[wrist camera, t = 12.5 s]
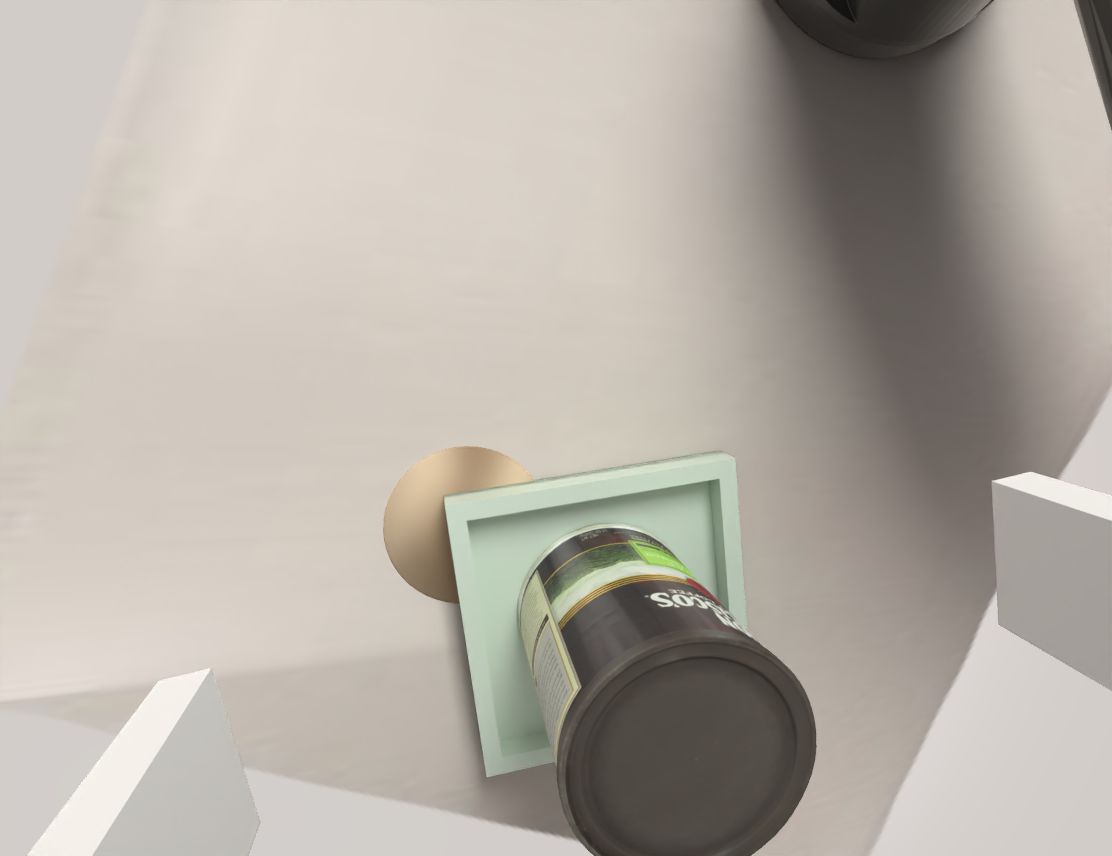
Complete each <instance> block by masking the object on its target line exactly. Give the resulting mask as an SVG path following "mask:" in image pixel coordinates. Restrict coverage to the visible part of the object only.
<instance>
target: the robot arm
mask: <svg viewBox="0 0 1112 856" xmlns="http://www.w3.org/2000/svg"><path fill="white" fill-rule="evenodd" d="M777 1H778V3H779V4H780V5H781V7H782V8H783V9H784V11H785V12H786V13H787V14H788V15H789V17H790V18H791V19H792V20H793V21H794V22H795V23H796V24H797V25H798V26H799V27H800V28H802V29H803V30H804V31H805V32H806V33H808V34H809V35H810V36H811V37H813V38H814V39H816V40H818V41H819V42H821V43H822V44H824V45H826V46H828V47H830V48H832V49H834V50H837V51H839V52H842V53H845V54H848V55H853V56H857V57H863V58H875V59H877V58H892V57H898V56H902V55H906V54H909V53H913V52H915V51H918V50H920V49H923V48H925V47H927V46H929V45H931V44H933V43H934V42H936V41H938V40H940V39H942V38H944V37H946V36H948V35H949V34H951V33H953V32H955V31H957V30H958V29H960V28H962V27H963V26H965V25H966V24H967V23H969V22H970V21H972V20H973V19H974V18H975V17H977V16H978V15H979V14H980V13H981V12H983V11H984V10H985V9H986V8H987V7H988V6H989V5H990V4H991V3H992V2H993V1H994V0H777ZM1074 4H1075V7H1076V10H1077V14H1078V17H1079V21H1080V24H1081V27H1082V31H1083V34H1084V38H1085V41H1086V45H1087V48H1088V51H1089V55H1090V58H1091V62H1092V65H1093V68H1094V72H1095V75H1096V79H1097V82H1098V86H1099V89H1100V92H1101V96H1102V99H1103V103H1104V106H1105V110H1106V113H1107V116H1108V120H1109V123H1110V127H1111V130H1112V0H1074ZM991 482H992V502H993V522H994V542H995V562H996V582H997V600H998V601H997V602H998V622H999V625H1000V626H1002V627H1004V628H1005V629H1007V630H1009V631H1011V632H1012V633H1014V634H1016V635H1017V636H1019V637H1021V638H1022V639H1024V640H1026V641H1028V642H1029V643H1031V644H1033V645H1034V646H1036V647H1038V648H1040V649H1042V650H1043V651H1045V652H1047V653H1048V654H1050V655H1051V656H1053V657H1055V658H1057V659H1059V660H1060V661H1062V662H1063V663H1065V664H1067V665H1069V666H1070V667H1072V668H1074V669H1075V670H1077V671H1079V672H1081V673H1082V674H1084V675H1086V676H1087V677H1089V678H1091V679H1093V680H1094V681H1096V682H1098V683H1099V684H1101V685H1103V686H1105V687H1106V688H1108V689H1110V690H1111V691H1112V495H1109V494H1105V493H1102V492H1099V491H1095V490H1092V489H1088V488H1085V487H1082V486H1078V485H1075V484H1071V483H1068V482H1064V481H1061V480H1058V479H1054V478H1051V477H1047V476H1044V475H1041V474H1037V473H1034V472H1027V473H1023V474H1019V475H1015V476H1010V477H1006V478H1002V479H998V480H994V481H991ZM259 825H260V820H259V816H258V813H257V810H256V807H255V804H254V801H253V797H252V794H251V791H250V788H249V785H248V782H247V778H246V775H245V772H244V769H243V766H242V763H241V760H240V756H239V753H238V750H237V747H236V744H235V741H234V738H233V734H232V731H231V728H230V725H229V722H228V719H227V716H226V712H225V709H224V706H223V703H222V700H221V697H220V693H219V690H218V687H217V684H216V681H215V678H214V675H213V671H212V668H210V669H205V670H201V671H197V672H193V673H189V674H185V675H180V676H176V677H172V678H168V679H164V680H160V681H158V682H157V684H156V685H155V686H154V688H153V689H152V690H151V692H150V693H149V694H148V696H147V697H146V698H145V699H144V701H143V702H142V703H141V705H140V706H139V707H138V709H137V710H136V711H135V713H134V714H133V715H132V717H131V718H130V719H129V721H128V722H127V723H126V725H125V726H124V727H123V729H122V730H121V731H120V733H119V734H118V735H117V737H116V738H115V739H114V741H113V742H112V743H111V745H110V746H109V747H108V749H107V750H106V751H105V753H104V754H103V755H102V757H101V758H100V759H99V761H98V762H97V763H96V765H95V766H94V767H93V768H92V770H91V771H90V773H89V774H88V775H87V776H86V778H85V779H84V781H83V782H82V783H81V784H80V786H79V787H78V788H77V790H76V791H75V793H74V794H73V795H72V796H71V798H70V799H69V801H68V802H67V803H66V804H65V806H64V807H63V808H62V810H61V811H60V812H59V814H58V815H57V816H56V818H55V819H54V820H53V822H52V823H51V824H50V826H49V827H48V828H47V830H46V831H45V832H44V834H43V835H42V836H41V838H40V839H39V840H38V841H37V843H36V844H35V846H34V847H33V848H32V850H31V851H30V852H29V854H28V855H27V856H249V853H250V850H251V847H252V844H253V841H254V839H255V836H256V833H257V830H258V827H259Z"/></svg>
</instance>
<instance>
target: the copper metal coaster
mask: <svg viewBox="0 0 1112 856" xmlns="http://www.w3.org/2000/svg"><path fill="white" fill-rule="evenodd" d="M528 481H534V480H533V478H532V477H531V475H530V474H529V473H528V472H527V471H526V470H525V469H524V468H523V467H522V466H521V465H519V464H518V463H517V462H516V461H514V460H513V459H511V458H509V457H508V456H506V455H504V454H501V453H499V452H497V451H493V450H490V449H486V448H481V447H468V446H466V447H455V448H450V449H445V450H442V451H439V452H437V453H434V454H432V455H430V456H428V457H426V458H424V459H423V460H421V461H420V462H418V463H417V464H415V465H414V466H413V467H412V468H411V469H409V470H408V471H407V472H406V473H405V475H404V476H403V477H402V478H401V479H400V480H399V482H398V483H397V485H396V486H395V488H394V490H393V492H392V494H391V496H390V498H389V500H388V503H387V507H386V510H385V516H384V528H383V530H384V540H385V544H386V548H387V552H388V554H389V557H390V559H391V561H392V563H393V564H394V566H395V568H396V569H397V571H398V572H399V573H400V575H401V576H402V577H403V578H404V579H405V580H406V581H407V582H408V583H409V584H410V585H412V586H413V587H414V588H416V589H417V590H419V591H420V592H422V593H424V594H426V595H428V596H430V597H433V598H435V599H439V600H442V601H446V602H454V603H460V601H459V595H458V588H457V582H456V575H455V569H454V562H453V556H452V549H451V543H450V537H449V530H448V524H447V517H446V511H445V502H444V495H447V494H454V493H460V492H466V491H472V490H478V489H485V488H491V487H497V486H503V485H510V484H516V483H522V482H528Z"/></svg>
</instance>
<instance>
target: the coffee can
mask: <svg viewBox="0 0 1112 856" xmlns="http://www.w3.org/2000/svg"><path fill="white" fill-rule="evenodd" d="M517 619H518V628H519V633H520V637H521V639H522V642H523V644H524V647H525V649H526V653H527V657H528V661H529V665H530V669H531V672H532V676H533V680H534V684H535V688H536V693H537V696H538V700H539V704H540V708H541V711H542V715H543V719H544V723H545V727H546V731H547V735H548V739H549V743H550V747H551V750H552V754H553V758H554V762H555V766H556V770H557V782H558V788H559V794H560V799H561V803H562V806H563V810H564V813H565V815H566V818H567V820H568V822H569V825H570V826H571V828H572V830H573V832H574V834H575V835H576V837H577V838H578V839H579V841H580V842H581V843H582V844H583V845H584V846H585V848H587V850H588V851H589V852H590V853H592V854H593V855H594V856H751V855H752V854H754V853H755V852H756V851H758V850H759V849H760V848H762V847H763V846H764V845H765V844H766V843H767V842H768V841H769V840H771V839H772V838H773V837H774V836H775V835H776V834H777V833H778V832H779V830H780V829H781V828H782V827H783V826H784V825H785V824H786V822H787V821H788V819H789V818H790V817H791V815H792V814H793V812H794V810H795V809H796V807H797V805H798V804H799V802H800V800H801V798H802V796H803V794H804V792H805V790H806V788H807V785H808V783H809V780H810V777H811V775H812V770H813V766H814V762H815V756H816V747H817V746H816V728H815V721H814V716H813V712H812V708H811V705H810V702H809V699H808V697H807V695H806V692H805V690H804V688H803V687H802V685H801V683H800V682H799V680H798V679H797V678H796V676H795V675H794V674H793V673H792V671H791V670H790V669H789V668H788V667H787V666H786V665H785V664H784V663H783V662H782V661H780V660H779V659H778V658H777V657H776V656H775V655H774V654H772V653H771V652H770V651H769V650H767V649H766V648H764V647H763V646H762V645H761V644H760V643H759V642H758V641H757V640H756V639H755V638H754V637H753V636H752V635H751V634H750V633H749V632H748V631H747V630H746V629H745V628H744V627H743V625H742V624H741V623H740V622H739V621H738V620H737V619H736V618H735V617H734V616H733V615H732V614H731V613H730V612H729V611H728V610H727V609H726V608H725V607H724V606H723V605H722V604H721V603H720V602H719V601H718V600H717V599H716V598H715V597H714V596H713V595H712V594H711V593H710V592H709V591H708V590H707V589H706V588H705V587H704V586H703V585H702V584H701V582H700V581H699V580H698V579H697V578H696V577H695V576H694V575H693V574H692V573H691V572H690V571H689V570H688V569H687V568H686V567H685V566H684V565H683V564H682V563H681V562H680V561H679V559H678V558H677V557H676V555H675V554H674V553H673V551H672V550H671V549H670V548H669V547H668V546H667V545H666V544H665V543H664V542H663V541H661V540H660V539H659V538H658V537H657V536H655V535H653V534H651V533H650V532H647V531H645V530H643V529H640V528H638V527H634V526H631V525H625V524H615V523H605V524H596V525H590V526H586V527H583V528H580V529H578V530H575V531H573V532H571V533H569V534H567V535H565V536H563V537H562V538H560V539H559V540H557V541H556V542H554V543H553V544H552V545H551V546H549V547H548V548H547V549H546V550H545V551H544V552H543V553H542V554H541V555H540V556H539V557H538V559H537V560H536V561H535V563H534V564H533V565H532V567H531V568H530V570H529V572H528V574H527V576H526V578H525V580H524V583H523V585H522V588H521V591H520V596H519V600H518V611H517Z"/></svg>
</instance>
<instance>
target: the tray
mask: <svg viewBox="0 0 1112 856" xmlns="http://www.w3.org/2000/svg"><path fill="white" fill-rule="evenodd" d="M444 502H445V511H446V517H447V524H448V530H449V537H450V543H451V549H452V556H453V562H454V569H455V575H456V582H457V588H458V595H459V601H460V608H461V614H462V621H463V627H464V634H465V640H466V647H467V653H468V660H469V666H470V673H471V679H472V686H473V692H474V699H475V705H476V712H477V718H478V725H479V731H480V738H481V744H482V751H483V757H484V764H485V770H486V777H491V776H495V775H500V774H504V773H509V772H513V771H518V770H522V769H527V768H531V767H535V766H540V765H544V764H549V763H553V762H554V758H553V754H552V750H551V747H550V743H549V739H548V735H547V731H546V727H545V723H544V719H543V715H542V711H541V708H540V704H539V700H538V696H537V693H536V688H535V684H534V680H533V676H532V672H531V669H530V665H529V661H528V657H527V653H526V649H525V647H524V644H523V642H522V639H521V637H520V633H519V628H518V619H517V611H518V600H519V596H520V591H521V588H522V585H523V583H524V580H525V578H526V576H527V574H528V572H529V570H530V568H531V567H532V565H533V564H534V563H535V561H536V560H537V559H538V557H539V556H540V555H541V554H542V553H543V552H544V551H545V550H546V549H547V548H548V547H549V546H551V545H552V544H553V543H554V542H556V541H557V540H559V539H560V538H562V537H563V536H565V535H567V534H569V533H571V532H573V531H575V530H578V529H580V528H583V527H586V526H590V525H596V524H605V523H615V524H625V525H631V526H634V527H638V528H640V529H643V530H645V531H647V532H650V533H651V534H653V535H655V536H657V537H658V538H659V539H660V540H661V541H663V542H664V543H665V544H666V545H667V546H668V547H669V548H670V549H671V550H672V551H673V553H674V554H675V555H676V557H677V558H678V559H679V561H680V562H681V563H682V564H683V565H684V566H685V567H686V568H687V569H688V570H689V571H690V572H691V573H692V574H693V575H694V576H695V577H696V578H697V579H698V580H699V581H700V582H701V584H702V585H703V586H704V587H705V588H706V589H707V590H708V591H709V592H710V593H711V594H712V595H713V596H714V597H715V598H716V599H717V600H718V601H719V602H720V603H721V604H722V605H723V606H724V607H725V608H726V609H727V610H728V611H729V612H730V613H731V614H732V615H733V616H734V617H735V618H736V619H737V620H738V621H739V622H740V623H741V624H742V625H743V627H744V628H745V629H746V630H747V622H746V607H745V593H744V578H743V563H742V549H741V534H740V519H739V505H738V490H737V475H736V460H735V458H733V457H731V456H729V455H727V454H725V453H723V452H721V451H716V452H709V453H703V454H697V455H691V456H684V457H678V458H672V459H666V460H659V461H653V462H647V463H641V464H634V465H628V466H622V467H616V468H609V469H603V470H597V471H591V472H585V473H578V474H572V475H566V476H560V477H553V478H547V479H541V480H535V481H528V482H522V483H516V484H510V485H503V486H497V487H491V488H485V489H478V490H472V491H466V492H460V493H454V494H447V495H444Z"/></svg>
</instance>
